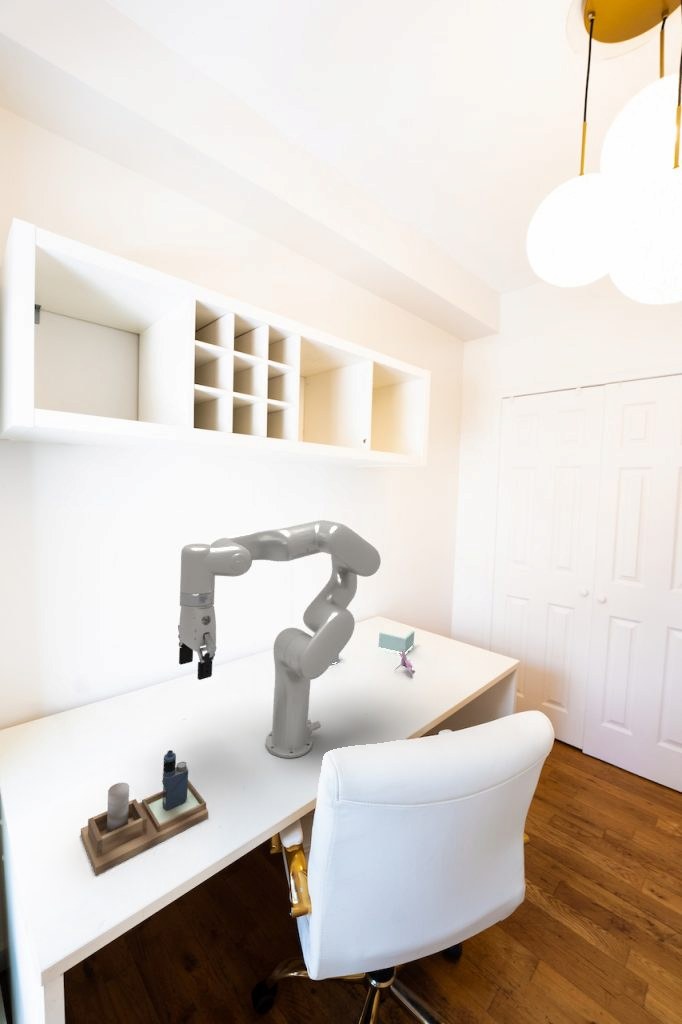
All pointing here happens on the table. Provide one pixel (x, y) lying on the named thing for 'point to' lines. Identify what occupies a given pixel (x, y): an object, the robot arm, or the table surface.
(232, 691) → the table surface
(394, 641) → the right angle wall
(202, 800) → the holder
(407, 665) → the lily
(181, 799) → the vaping device
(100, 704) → the table surface
